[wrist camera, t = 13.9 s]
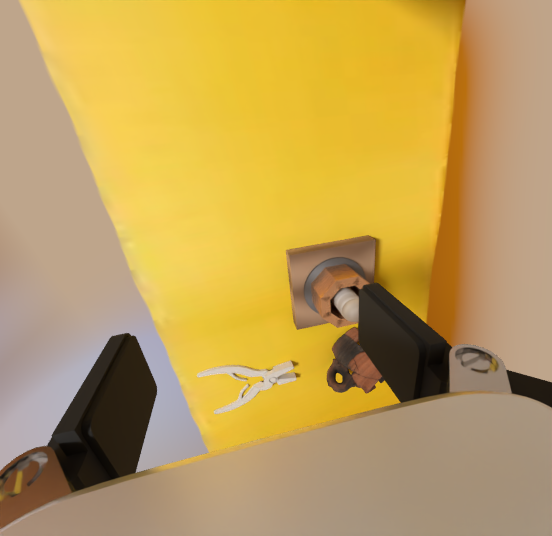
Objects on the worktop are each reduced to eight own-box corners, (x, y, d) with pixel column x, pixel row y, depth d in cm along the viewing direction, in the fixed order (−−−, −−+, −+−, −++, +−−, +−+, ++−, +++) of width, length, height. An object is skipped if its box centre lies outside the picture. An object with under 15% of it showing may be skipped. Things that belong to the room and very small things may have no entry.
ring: (309, 270, 35) (320, 283, 32) (359, 260, 36) (374, 272, 32) (313, 313, 38) (322, 330, 35) (358, 304, 39) (372, 319, 35)
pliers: (196, 378, 41) (290, 351, 42) (196, 370, 42) (287, 344, 43) (215, 419, 45) (300, 393, 46) (215, 411, 46) (297, 386, 47)
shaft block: (285, 250, 36) (305, 280, 28) (368, 235, 38) (411, 259, 29) (293, 321, 41) (312, 366, 33) (366, 306, 43) (402, 345, 34)
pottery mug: (366, 312, 44) (409, 351, 39) (363, 334, 51) (398, 369, 47) (310, 358, 41) (347, 405, 37) (315, 374, 49) (347, 415, 44)
